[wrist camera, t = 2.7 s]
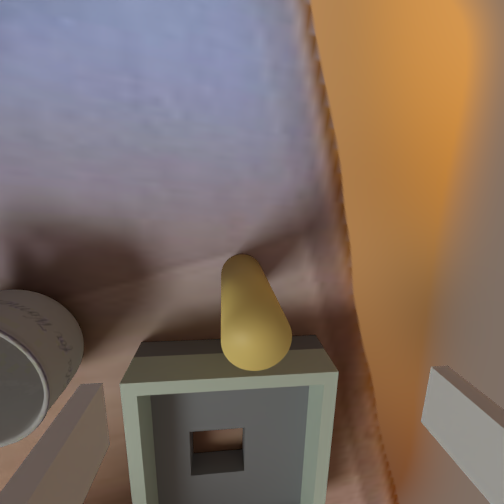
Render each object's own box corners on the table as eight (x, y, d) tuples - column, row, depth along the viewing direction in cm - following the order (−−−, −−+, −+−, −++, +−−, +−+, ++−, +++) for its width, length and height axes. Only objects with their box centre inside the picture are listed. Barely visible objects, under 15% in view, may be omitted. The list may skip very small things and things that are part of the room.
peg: (221, 254, 26) (220, 307, 14) (262, 254, 27) (293, 305, 15) (221, 293, 27) (221, 372, 15) (261, 292, 27) (290, 368, 16)
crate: (141, 342, 27) (119, 383, 21) (315, 335, 29) (338, 371, 23) (155, 515, 32) (140, 587, 27) (302, 499, 34) (318, 563, 29)
